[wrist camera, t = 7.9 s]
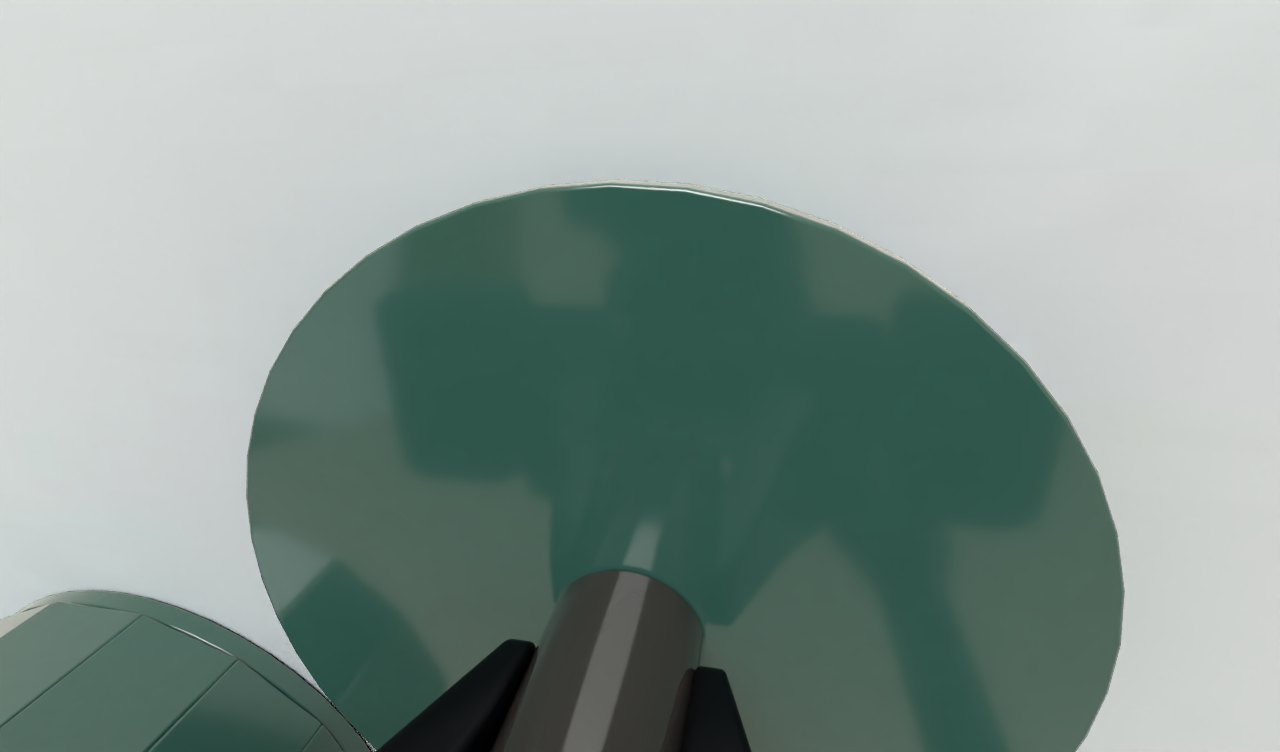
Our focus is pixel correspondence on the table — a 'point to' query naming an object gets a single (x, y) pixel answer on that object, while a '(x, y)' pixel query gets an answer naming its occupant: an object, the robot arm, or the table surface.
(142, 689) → the pot
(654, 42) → the table surface
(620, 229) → the lid
